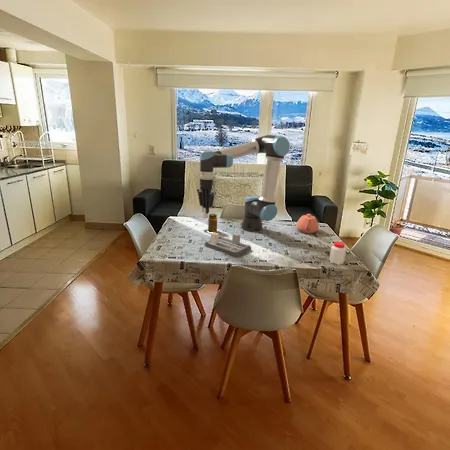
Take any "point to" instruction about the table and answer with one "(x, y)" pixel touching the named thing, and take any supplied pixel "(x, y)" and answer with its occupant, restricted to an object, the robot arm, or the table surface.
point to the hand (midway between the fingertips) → (205, 218)
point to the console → (230, 245)
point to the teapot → (307, 224)
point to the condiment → (212, 223)
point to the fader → (214, 238)
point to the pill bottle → (337, 252)
